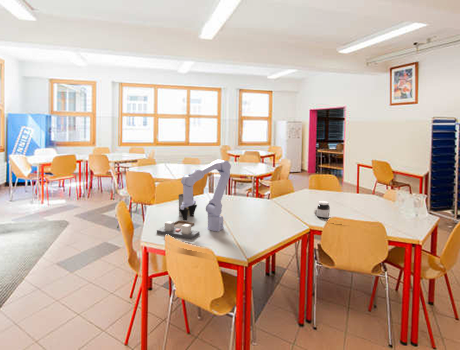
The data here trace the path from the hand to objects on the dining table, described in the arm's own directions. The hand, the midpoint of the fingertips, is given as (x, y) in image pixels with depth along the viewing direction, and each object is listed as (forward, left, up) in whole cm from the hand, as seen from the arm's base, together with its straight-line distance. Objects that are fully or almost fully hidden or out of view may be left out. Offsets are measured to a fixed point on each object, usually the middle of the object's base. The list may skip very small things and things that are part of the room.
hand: (188, 218), depth 178 cm
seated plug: (+11, +4, -10) cm, 15 cm away
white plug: (-1, +4, -10) cm, 11 cm away
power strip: (+5, +4, -10) cm, 12 cm away
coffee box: (+21, -31, -10) cm, 39 cm away
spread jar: (-68, -72, -10) cm, 100 cm away
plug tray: (+11, -9, -10) cm, 17 cm away
